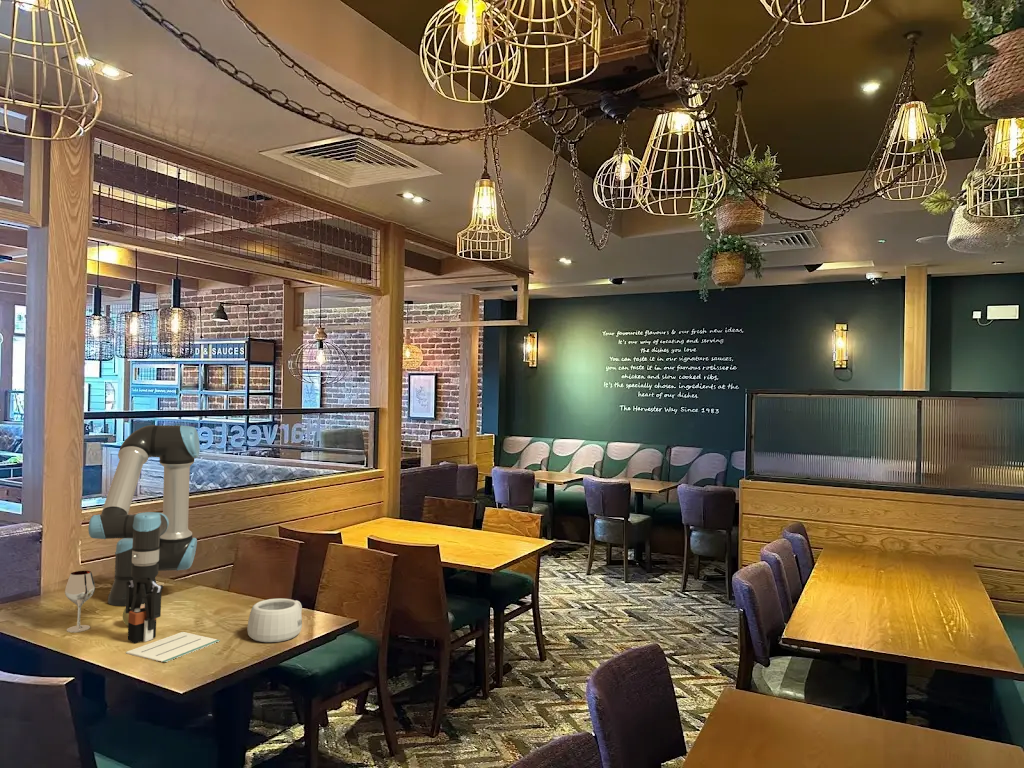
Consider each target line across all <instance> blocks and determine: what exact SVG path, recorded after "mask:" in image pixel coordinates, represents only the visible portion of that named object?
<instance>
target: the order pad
mask: <svg viewBox="0 0 1024 768" xmlns="http://www.w3.org/2000/svg"><path fill="white" fill-rule="evenodd" d="M219 641H220V642H221V639H216V638H212V637H207V636H202V635H199V634H194V633H189V632H186V631H185V632H184V631H181V632H178V633H176V634H173V635H170V636H167V637H164V638H161V639H158V640H156V641H153V642H150V643H147V644H144V645H141V646H139V647H136V648H133V649H130V650H128V651H125V654H127V655H130V656H135V657H137V658H138V657H139V658H142V657H143V659H146V658H148V659H147V660H150V659H152V660H151V661H154V660H156V661H155V662H158V661H161V662H160V663H162V662H167V663H169V662H168V661H170V660H172V661H174V660H173V659H175V658H177V659H179V658H178V657H180V658H182V657H184V656H183V655H185V656H187V655H189V653H190V654H192V653H195V652H197V651H200V650H202V649H205V648H207V647H210V646H213V645H214V643H215V644H217V643H216V642H218V643H219ZM212 644H213V645H212ZM209 645H210V646H209ZM204 647H205V648H204ZM199 649H200V650H199ZM196 650H197V651H196ZM194 651H195V652H194ZM191 652H192V653H191ZM186 654H187V655H186ZM181 656H182V657H181ZM175 660H176V659H175ZM170 662H171V661H170Z"/></svg>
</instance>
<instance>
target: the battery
mask: <svg viewBox="0 0 1024 768" xmlns="http://www.w3.org/2000/svg"><path fill="white" fill-rule="evenodd" d="M144 607H145V606H144ZM145 619H147V617H146V609H145V608H141V609H140V608H136V609H135V610H132V611H130V612H129V620H128V625H127V641H128V642H131V643H133V644H137V643H143V642H144V620H145ZM154 625H155V626H154V629H153V639H155V638H156V635H157V618H155V624H154Z"/></svg>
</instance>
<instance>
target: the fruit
mask: <svg viewBox="0 0 1024 768" xmlns="http://www.w3.org/2000/svg"><path fill="white" fill-rule="evenodd" d="M144 606H145V603H143V604H141V607H140V609H141V608H145V607H144ZM125 610H126V607H125V608H124V609H123V612H122V621H123V622H124V624H125V625H126V626H128V620H129V613H126V612H125Z"/></svg>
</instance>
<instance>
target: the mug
mask: <svg viewBox="0 0 1024 768" xmlns="http://www.w3.org/2000/svg"><path fill="white" fill-rule="evenodd" d="M302 611H303V606H302V603H301V602H300V601H299V600H297V599H296V600H294V599H290V598H269V599H263V600H260V601H258V602H256V603H254V605H252V608H251V609H250V613H249V617H248V621H247V622H248V623H247V629H246V631H247V635H248V636H249V638H251V639H253V641H256V642H260V643H280V642H284V641H288V640H291V639H294V638H295V637H297V636H298V635H299V634H300V633H301V631H302V627H303V617H302V616H303V615H302Z"/></svg>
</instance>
